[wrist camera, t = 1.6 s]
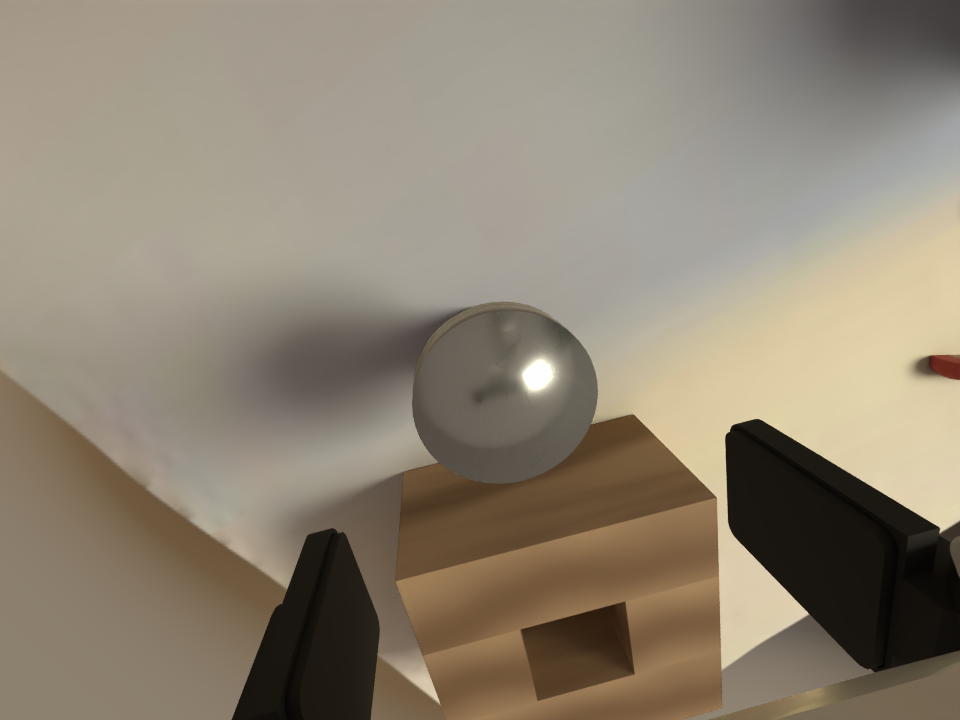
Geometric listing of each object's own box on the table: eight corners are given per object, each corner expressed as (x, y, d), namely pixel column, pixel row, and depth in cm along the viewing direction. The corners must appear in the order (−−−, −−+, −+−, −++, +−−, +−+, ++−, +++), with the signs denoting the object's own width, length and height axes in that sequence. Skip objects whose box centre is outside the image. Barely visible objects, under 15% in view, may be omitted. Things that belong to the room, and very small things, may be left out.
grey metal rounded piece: (401, 290, 22) (389, 338, 14) (527, 260, 23) (585, 291, 15) (433, 405, 25) (438, 502, 17) (547, 377, 25) (607, 459, 17)
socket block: (403, 472, 26) (395, 581, 18) (633, 414, 26) (716, 497, 19) (457, 639, 31) (468, 779, 23) (650, 587, 31) (722, 708, 24)
